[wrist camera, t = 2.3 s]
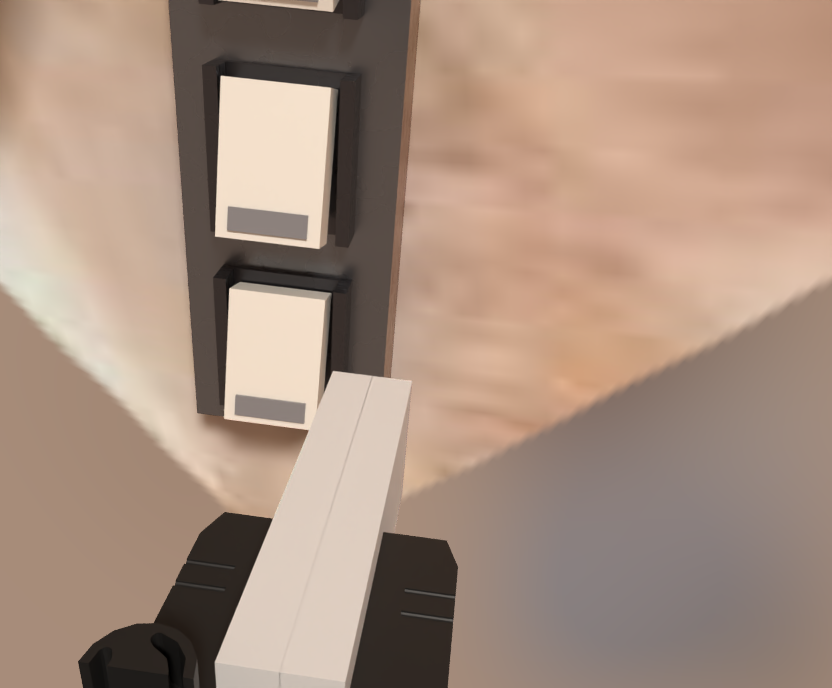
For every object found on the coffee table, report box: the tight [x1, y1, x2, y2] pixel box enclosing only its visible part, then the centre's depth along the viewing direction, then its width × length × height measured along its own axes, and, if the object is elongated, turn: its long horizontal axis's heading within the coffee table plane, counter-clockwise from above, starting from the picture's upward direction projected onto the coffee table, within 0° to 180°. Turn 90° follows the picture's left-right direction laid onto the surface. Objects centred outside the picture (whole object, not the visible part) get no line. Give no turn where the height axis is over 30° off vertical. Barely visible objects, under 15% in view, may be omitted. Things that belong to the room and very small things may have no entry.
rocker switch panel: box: [168, 0, 421, 417], centre depth 35 cm, size 30×10×6 cm, turn 175°
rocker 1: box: [215, 76, 338, 249], centre depth 33 cm, size 6×4×2 cm
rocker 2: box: [224, 282, 332, 430], centre depth 37 cm, size 6×4×2 cm
